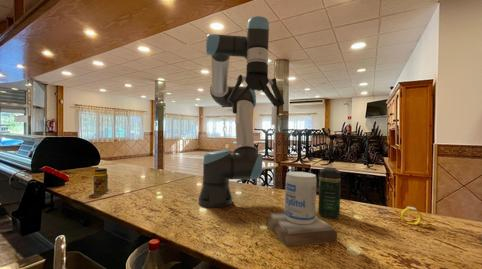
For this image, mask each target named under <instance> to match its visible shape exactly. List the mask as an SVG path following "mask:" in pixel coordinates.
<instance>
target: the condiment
mask: <svg viewBox="0 0 482 269" xmlns="http://www.w3.org/2000/svg"><path fill="white" fill-rule="evenodd" d="M108 174H109V173H108V168H106V167H104V168H103V167H101V168H95V169H94V174H93V190H91V193H92V195H93V196H94V195H101V194H108V193H109V194H110V193H111V191H110V189H109V188H108V187H109V185H108V184H109V183H108V182H109V180H108V178H109V175H108Z"/></svg>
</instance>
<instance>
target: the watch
mask: <svg viewBox="0 0 482 269" xmlns="http://www.w3.org/2000/svg"><path fill="white" fill-rule="evenodd" d="M408 211H412V212H416V213H417V215H418V219H417V220H416V221H414V222H411V221H410V222H407V221H406V220H405V218H404V216H405V213H406V212H408ZM400 218H401V220H402V221H403V222H404V223H406V225H412V226H418V225H419V224H420V223H421V222H422V220H423V217H422V214H421V212H420V211H419V210H417V208H416V207H414V206H406V208H404V209H403V210H402V211H401V213H400Z"/></svg>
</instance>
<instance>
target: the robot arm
mask: <svg viewBox="0 0 482 269" xmlns="http://www.w3.org/2000/svg"><path fill="white" fill-rule="evenodd" d="M269 25H270V24H269V20H268V19H267V18H266V17H264V16H261V15H260V16H259V15H257V16H252V17H251V18H249V19H248V21H247V28H246V36H245V35H244V36H242V35H231V34H230V35H229V34H219V33H209V34H207V36H206V46H205V47H206V48H205V49H206V50H205V51H206V54H207V55H210V56H211V84H210V86H209V92H210V96H211V98H212V99H213V100H214V102H215V103H216V104H218V105H219V106H220V107H221V106H222V107H223V108H231V109H232V114H235V116H234V117H235V119H234V123H235V137H236V138H235V139H236V140H235V141H236V142H235V143H236V148H235V149H234V150H233V153H231V151H230V150H229V149H227V150H226V149H225V150H224V149H223V150H214V151H209V152H205V153H204V155H203V162H202V165H203V166H202V168H203V171H202V172H203V173H202V186H201V189H200V193H199V196H198V205H199V206H201V207H204V208H210V209H212V208H214V209H215V208H216V209H217V208H218V209H219V208H225V207H229V206H230V205H232V204H233V195H232V192H231V188H230V184H229V183H230V180H249V181H250V180H258V179H260V177H261V174H262V169H263V160H264V159H263V154H262V153H259V151H258V148H257V147H255V140H254V129H253V119H252V111H253V110H254V109H255V108H256V106H257V94H256V92H257V91H258V92H260V91H262V92H263V93H264V94H265V96H266V97H267V98H268V100H269V101H270V102H271V104H272V105H273V106H271V126H276V125H277V117H278V116H279V113H280V106H283V105H285V101H284V98H283V97H282V94H281V91H280V89H279V86H278V84H277V78H275V77H274V78H268V76H269V75H268V74H269V64H268V63H269V40H270V39H269V38H270V37H269V36H270V35H269V33H270V32H269V31H270V26H269ZM230 57H240V58H241V57H242V58H244V59H246V63H247V64H246V74H245V76H243V75H242V74H239V75H238V76H237V78H236V83H235V85H234V86H231V85H230V86H229V85H228V77H229V75H228V74H229V68H230ZM244 81H245V83H246V86H241V84H242V83H244ZM268 84H269V86H270V87H271V89H272V91H271V90H270V87H269V86H268ZM272 92H273V93H272Z"/></svg>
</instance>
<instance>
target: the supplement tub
mask: <svg viewBox="0 0 482 269" xmlns="http://www.w3.org/2000/svg"><path fill="white" fill-rule="evenodd" d="M317 181H318V180H317V175H316V174H314V173H311V172H305V171H288V172H286V176H285V188H284V190H285V191H284V192H285V193H284V210H283V213H284V216H285V218H286V219H287V220H288V221H290V222H292V223H295V224H304V225H305V224H311V223H313V222H314V221H315V216H316V204H317V203H316V202H317Z"/></svg>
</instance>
